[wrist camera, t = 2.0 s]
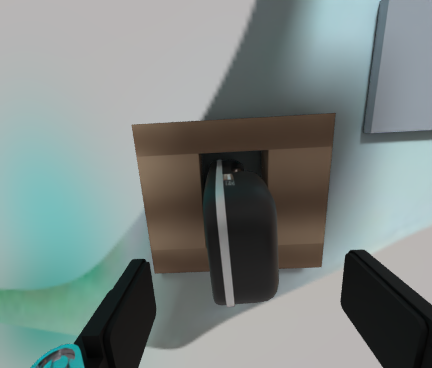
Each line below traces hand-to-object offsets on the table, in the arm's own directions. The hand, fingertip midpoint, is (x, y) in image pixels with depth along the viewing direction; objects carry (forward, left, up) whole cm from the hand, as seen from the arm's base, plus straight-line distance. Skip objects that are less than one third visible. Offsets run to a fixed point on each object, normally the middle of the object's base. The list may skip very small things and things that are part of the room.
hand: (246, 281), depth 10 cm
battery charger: (-1, 0, -12) cm, 12 cm away
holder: (-1, 0, -12) cm, 12 cm away
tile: (-11, +17, -12) cm, 23 cm away
